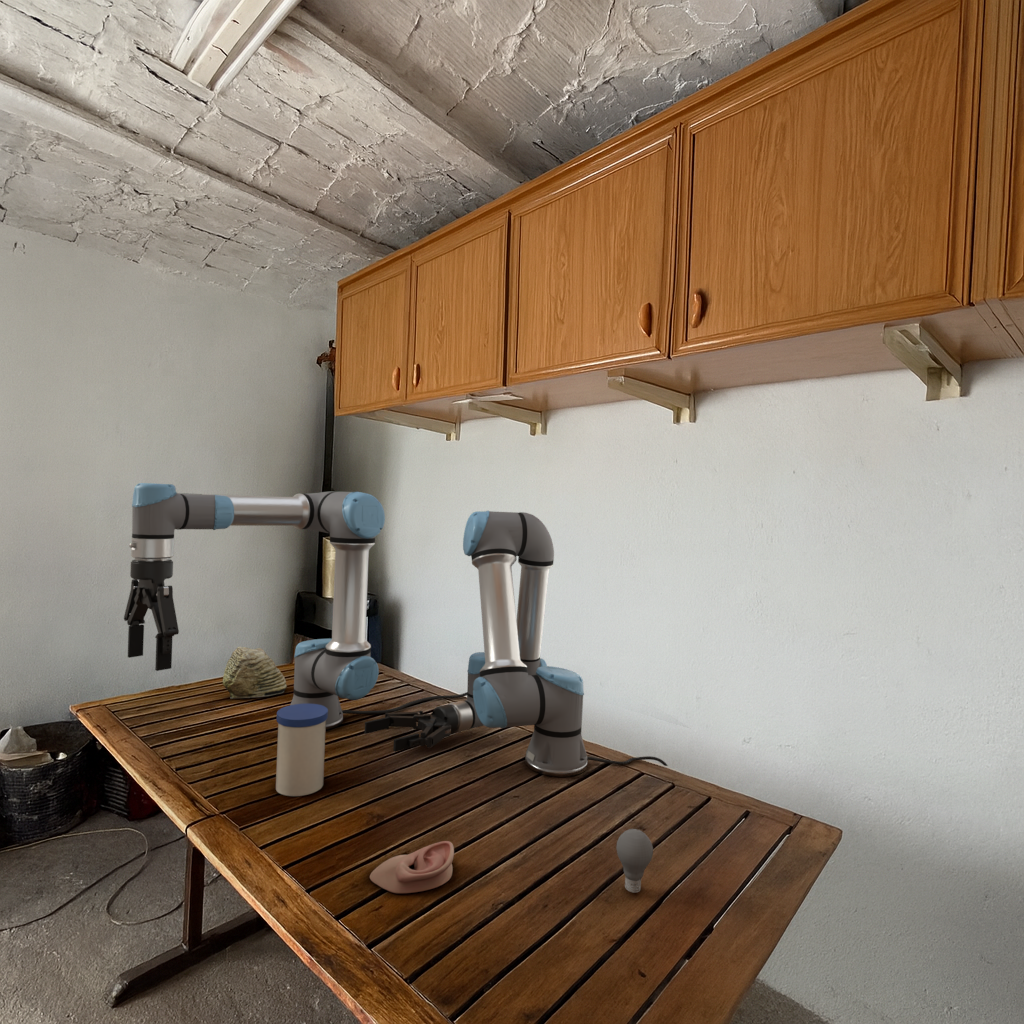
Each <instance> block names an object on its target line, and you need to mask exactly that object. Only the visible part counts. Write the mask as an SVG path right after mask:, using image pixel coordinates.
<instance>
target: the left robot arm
mask: <svg viewBox="0 0 1024 1024" xmlns="http://www.w3.org/2000/svg"><path fill="white" fill-rule="evenodd" d="M131 508H132V509H131V510H132V511H131V512H132V513H131V514H132V515H131V518H132V519H131V520H132V521H131V523H132V524H131V543H129V544H128V547H129V548H130V549H131V554H130V556H131V558H133V559H132V560H131V561H130V573H129V574H130V578H131V582H130V590H129V591H130V592H129V596H128V599H127V603H126V607H125V611H124V615H123V621H124V622H126V624H127V626H128V631H127V632H128V634H127V636H128V637H127V658H137V657H142V656H144V639H145V638H144V636H145V625H144V624H146V621H145V617H146V615H147V612H148V611H149V610H151V613H152V616H153V620H154V623H155V626H156V630H157V634H156V635H155V636H154V638H155V639H156V640H155V665H154V666H155V669H154V670H155V671H156V672H159V671H164V670H170V669H172V664H173V663H172V661H173V637H175V636H176V635H179V632H180V631H179V625H178V619H177V613H176V607H175V602H174V591H173V585H165V580H167V579H171V578H172V577H173V575H174V561H173V560H172V558H173V557H174V555H175V530H177V531H178V530H213V531H215V530H225V529H228V528H230V526H231V527H232V526H233V527H234V526H237V527H238V526H239V527H243V526H246V527H247V526H249V527H250V526H251V527H252V526H257V527H259V526H261V527H262V526H268V527H269V526H276V527H277V526H281V527H284V526H285V527H286V526H287V527H288V526H289V527H290V526H291V527H293V528H294V529H296V530H308V531H309V530H310V531H316V532H319V533H325V534H329V544H330V545H331V546H332V547H333V548H334V550H335V552H334V577H333V599H332V600H333V601H332V602H333V603H332V625H331V626H332V627H331V628H332V629H331V638H317V639H308V640H304V641H300V642H299V643H297V645H296V646H295V650H294V655H293V657H294V672H293V673H294V674H293V695H292V696H293V697H292V699H291V702H290V704H289V706H290V705H295V704H318V705H322V706H325V707H326V708H327V709H328V718H327V720H326V731H329V730H332V729H335V728H337V727H339V726H340V725H342V723H343V722H344V715H345V714H346V715H347V714H348V715H381V714H382V715H383V714H386V713H396V712H398V711H400V710H403V709H405V708H407V707H409V706H413V705H415V704H418V703H421V702H426V701H432V700H441V699H442V700H443V699H459V698H463V697H467V692H466V691H465V692H464V693H460V694H452V695H451V694H449V695H431V696H426V697H422V698H419V699H415V700H412V701H408V702H406V703H404V704H402V705H400V706H397V707H394V708H389V709H381V710H352V709H350V710H349V709H342V706H341V702H340V699H339V698H341V699H342V700H343V699H344V700H348V701H349V700H350V701H357V700H360V699H362V698H364V697H365V696H367V695H368V694H370V692H371V690H372V689H374V687H375V685H376V683H377V682H378V678H379V674H380V672H379V671H380V670H379V669H380V668H379V665H378V662H376V660H375V659H374V657H372V656H371V655H372V654H371V652H372V644H371V643H370V642H369V641H368V640H367V639H366V631H367V607H368V606H367V605H368V604H367V602H368V582H369V581H368V579H369V555H370V550H371V548H372V547H374V545H376V536H378V535H380V533H381V530H383V528H384V526H385V522H386V513H385V510H384V507H383V505H382V503H381V502H380V501H379V500H378V498H377V497H375V495H373V494H370V493H367V492H363V491H362V492H361V491H337V490H336V491H335V490H333V491H332V490H331V491H321V492H311V493H296V494H294V495H293V496H276V495H275V496H274V495H273V496H272V495H245V494H244V495H243V494H218V493H217V494H216V493H215V494H214V493H213V494H212V493H189V492H187V493H185V492H178V491H177V488H176V486H175V485H174V484H172V483H152V482H139V483H137V484H136V485H135V486H134V488H133V494H132V502H131Z"/></svg>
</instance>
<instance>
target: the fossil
mask: <svg viewBox="0 0 1024 1024" xmlns="http://www.w3.org/2000/svg"><path fill="white" fill-rule="evenodd" d="M222 676H223V677H222V685H223V687H224V688H225V690H226V691H228V693H229V698H230V699H250V698H264V697H271V696H275V695H281V694H284V693H285V691H286V689H287V687H288V686H287V680H286V678H285V676H284V674H283V673H282V672H281V669H279V668H278V667H277V665H276V663H275V662H274V660H273V659H272V658H271V657H270V656H269V655H268V654H267V653H266V652H265V650H264V649H263V648H260V647H258V648H251V647H247V646H246V647H245V646H238V647H237V648H236V649H235V650H233V651H232V653H231V656H230V657H229V659H228V660H227V663H226V666H225V668H224V671H223V675H222Z"/></svg>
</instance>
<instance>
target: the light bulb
mask: <svg viewBox="0 0 1024 1024" xmlns="http://www.w3.org/2000/svg"><path fill="white" fill-rule="evenodd" d="M615 849H616V854H617V857H618V859H619V861H620V863H621V865H622V867H623V873H624V874H623V875H624V876H625V878H624V888H625V890H627V891H628V892H630V893H634V894H635V893H639V892H640V891H641V889H642V887H641V886H642V879H643V877H644V875H645V871H646V868H647V867H648V866H649V864H650V863H651V861H652V859H653V855H654V847H653V843H652V841H651V838H649V836H648V835H647V834H646V833H645V832H643V831H642V830H641V829H636V828H629V829H627V830H625V831H623V832H622V833H621V834H620V835H619V837H618V839H617V841H616V847H615Z"/></svg>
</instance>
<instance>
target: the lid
mask: <svg viewBox="0 0 1024 1024" xmlns="http://www.w3.org/2000/svg"><path fill="white" fill-rule="evenodd" d="M327 718H328V709H327V708H326V707H325V706H322V705H318V704H295V705H290V704H289V705H287V706H283V707H281V708H279V709H278V710H277V712H276V723H277V724H278V723H279V724H280V725H283V726H288V727H307V726H313V725H317V724H320V723H322V722H324V721H326V720H327Z"/></svg>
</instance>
